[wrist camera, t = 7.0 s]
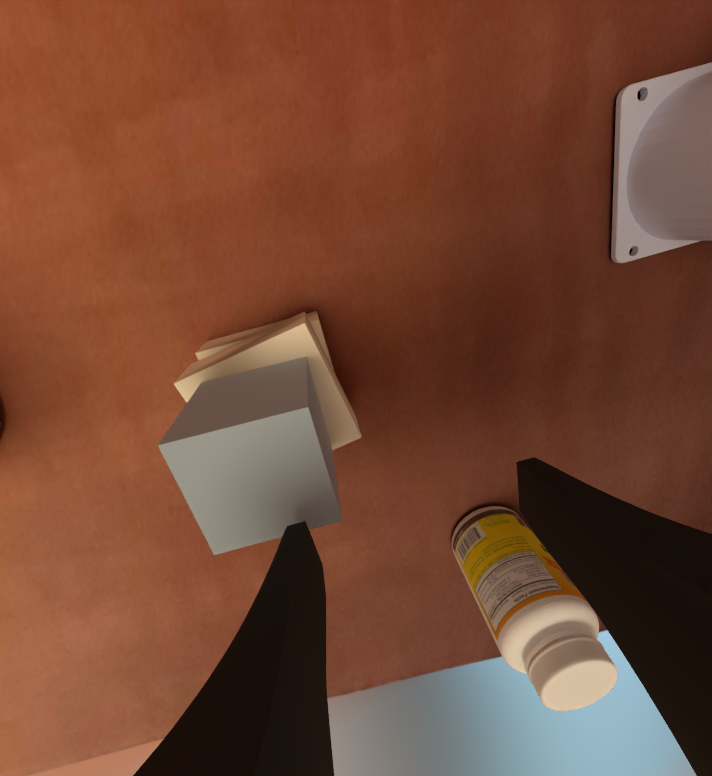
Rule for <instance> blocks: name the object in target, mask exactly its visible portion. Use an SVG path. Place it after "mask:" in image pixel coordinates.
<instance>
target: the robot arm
mask: <svg viewBox="0 0 712 776" xmlns="http://www.w3.org/2000/svg"><path fill="white" fill-rule="evenodd" d="M638 91H639V92H640V94H641V97H640V100H638V98H637V94H638ZM699 241H712V62H711V63H707V64H704V65H700V66H696V67H693V68H689V69H685V70H682V71H678V72H675V73H671V74H667V75H664V76H660V77H656V78H653V79H649V80H645V81H642V82H638V83H634V84H631V85H629V86H627V87H625V88H623V89H622V90H621V91H620V92H619V94H618V96H617V100H616V122H615V153H614V184H613V214H612V245H611V258H612V260H613V262H615V263H626V262H629V261H633V260H636V259H640V258H643V257H647V256H650V255H654V254H657V253H661V252H664V251H668V250H671V249H675V248H678V247H682V246H685V245H689V244H692V243H696V242H699ZM631 247H632V252H631V254H630V255H629V251H630V249H631ZM517 475H518V489H519V504H520V510H521V512H522V514H523V515H524V517H525V519H526V520H527V522H528V524H529V525H530V527H531V528H532V530H533V532H534V533H535V535H536V536H537V538H538V539H539V540H540V542H541V543H542V544H543V546H544V547H545V548H546V549H547V551H548V552H549V553H550V554H551V556H552V557H553V558H554V560H555V561H556V562H557V563H558V565H559V566H560V567H561V568H562V570H563V571H564V572H565V573H566V575H567V576H568V577H569V578H570V580H571V581H572V582H573V583H574V585H575V586H576V587H577V589H578V590H579V591H580V592H581V594H582V595H583V596H584V597H585V599H586V600H587V601H588V603H589V604H590V605H591V607H592V608H593V609H594V611H595V612H596V613H597V615H598V616H599V618H600V619H601V621H602V622H603V624H604V625H605V627H606V628H607V630H608V631H609V633H610V634H611V636H612V637H613V639H614V640H615V642H616V643H617V645H618V646H619V648H620V650H621V651H622V653H623V654H624V656H625V657H626V659H627V661H628V662H629V664H630V665H631V667H632V668H633V670H634V672H635V673H636V675H637V676H638V678H639V679H640V681H641V683H642V684H643V685H644V687H645V689H646V691H647V692H648V694H649V696H650V697H651V699H652V700H653V702H654V704H655V705H656V707H657V709H658V710H659V712H660V714H661V715H662V717H663V719H664V720H665V722H666V724H667V725H668V727H669V729H670V730H671V732H672V733H673V735H674V737H675V739H676V740H677V742H678V744H679V745H680V747H681V749H682V751H683V752H684V754H685V756H686V758H687V759H688V761H689V763H690V765H691V766H692V768H693V770H694V772H695V773H696V775H697V776H712V534H710V533H707V532H704V531H701V530H698V529H695V528H692V527H689V526H686V525H683V524H680V523H677V522H675V521H672V520H669V519H667V518H664V517H661V516H658V515H656V514H653V513H651V512H648V511H646V510H643V509H641V508H638V507H636V506H634V505H632V504H629V503H627V502H625V501H622V500H620V499H618V498H615V497H613V496H611V495H609V494H607V493H605V492H603V491H600V490H598V489H596V488H594V487H592V486H590V485H588V484H586V483H584V482H582V481H580V480H578V479H576V478H574V477H572V476H570V475H568V474H566V473H564V472H562V471H560V470H558V469H557V468H555V467H553V466H551V465H549V464H547V463H545V462H543V461H541V460H539V459H537V458H535V457H534V458H530V459H526V460H523V461H519V462H517ZM133 776H334V769H333V759H332V748H331V737H330V727H329V714H328V703H327V687H326V593H325V583H324V574H323V566H322V562H321V560H320V557H319V555H318V552H317V549H316V547H315V544H314V542H313V539H312V537H311V534H310V531H309V529H308V526H307V524H306V521H303V522H300V523H296V524H292V525H289V526H287V527H286V529H285V531H284V534H283V536H282V539H281V542H280V544H279V547H278V549H277V552H276V554H275V557H274V559H273V561H272V564H271V566H270V568H269V571H268V573H267V575H266V577H265V579H264V582H263V584H262V586H261V588H260V590H259V592H258V594H257V596H256V598H255V600H254V602H253V604H252V606H251V608H250V610H249V612H248V614H247V616H246V618H245V620H244V622H243V623H242V625H241V627H240V629H239V631H238V632H237V634H236V636H235V638H234V639H233V641H232V643H231V644H230V646H229V648H228V649H227V651H226V653H225V654H224V656H223V657H222V659H221V660H220V662H219V663H218V665H217V666H216V668H215V670H214V671H213V673H212V674H211V676H210V677H209V679H208V680H207V682H206V683H205V685H204V686H203V688H202V689H201V690H200V692H199V693H198V695H197V696H196V697H195V699H194V700H193V701H192V703H191V704H190V705H189V707H188V708H187V709H186V711H185V712H184V713H183V715H182V716H181V718H180V719H179V720H178V722H177V723H176V724H175V726H174V727H173V728H172V729H171V731H170V732H169V733H168V735H167V736H166V737H165V738H164V740H163V741H162V742H161V743H160V745H159V746H158V747H157V748H156V749H155V751H154V752H153V753H152V754H151V755H150V757H149V758H148V759H147V760H146V762H144V764H143V765H142V766H141V767H140V768H139V770H138V771H137V772H136V773H135V774H134V775H133Z"/></svg>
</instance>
